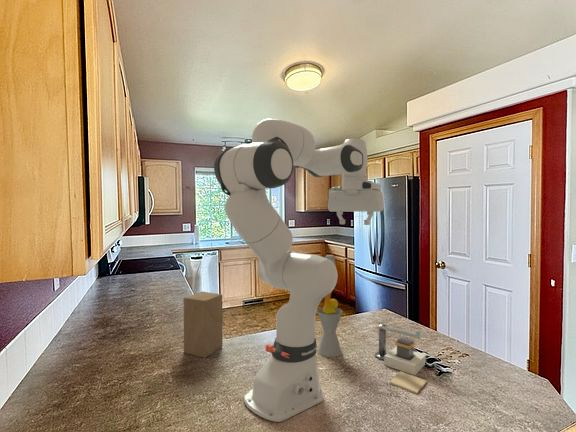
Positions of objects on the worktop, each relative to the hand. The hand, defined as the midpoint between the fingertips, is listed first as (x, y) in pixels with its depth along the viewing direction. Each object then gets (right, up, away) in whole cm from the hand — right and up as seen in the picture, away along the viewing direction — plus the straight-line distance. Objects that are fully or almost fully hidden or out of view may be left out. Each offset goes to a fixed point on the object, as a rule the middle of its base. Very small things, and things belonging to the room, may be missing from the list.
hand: (354, 224), depth 110 cm
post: (+9, -46, -2) cm, 47 cm away
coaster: (+12, -46, -19) cm, 51 cm away
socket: (+15, -46, -7) cm, 49 cm away
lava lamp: (-9, -46, +2) cm, 47 cm away
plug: (+15, -46, -7) cm, 49 cm away
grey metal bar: (+14, -36, -6) cm, 39 cm away
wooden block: (-55, -46, +3) cm, 72 cm away
